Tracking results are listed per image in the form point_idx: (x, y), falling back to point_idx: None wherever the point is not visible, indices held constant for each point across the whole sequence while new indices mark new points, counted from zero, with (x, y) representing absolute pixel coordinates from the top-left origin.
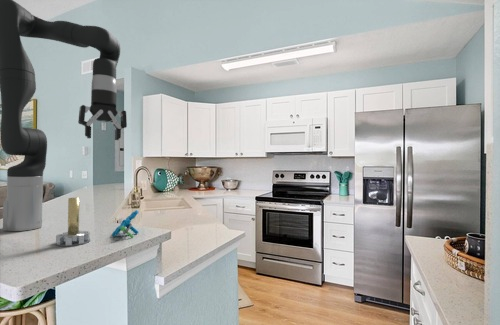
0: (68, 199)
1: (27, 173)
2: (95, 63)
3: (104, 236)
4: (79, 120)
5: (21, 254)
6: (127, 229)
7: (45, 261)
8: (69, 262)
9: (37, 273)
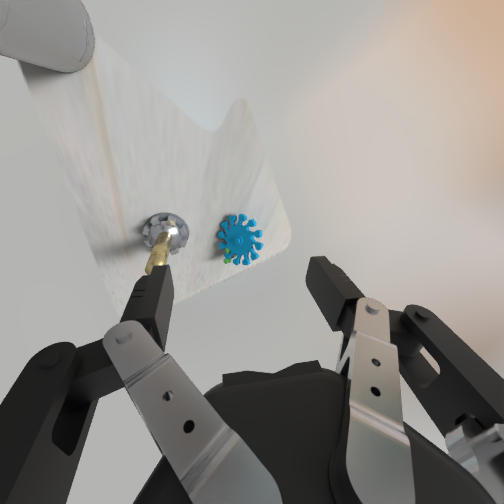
0: (145, 269)
1: None
2: None
3: (210, 224)
4: (32, 388)
5: (109, 251)
6: (233, 257)
7: None
8: None
9: None
